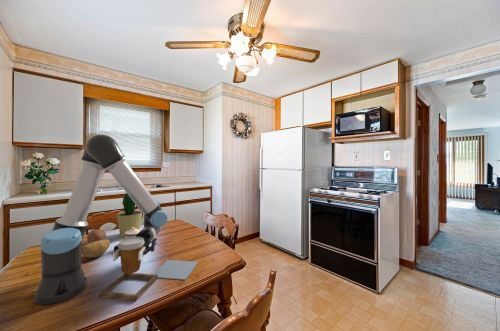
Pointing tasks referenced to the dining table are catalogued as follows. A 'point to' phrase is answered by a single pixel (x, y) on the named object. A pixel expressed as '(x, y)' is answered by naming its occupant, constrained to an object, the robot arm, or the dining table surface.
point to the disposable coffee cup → (130, 254)
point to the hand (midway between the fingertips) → (126, 257)
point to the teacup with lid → (131, 232)
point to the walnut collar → (131, 297)
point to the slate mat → (176, 269)
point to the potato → (95, 248)
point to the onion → (96, 235)
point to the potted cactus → (128, 216)
